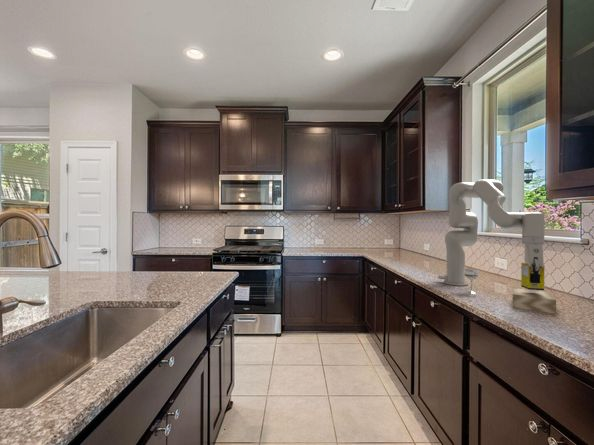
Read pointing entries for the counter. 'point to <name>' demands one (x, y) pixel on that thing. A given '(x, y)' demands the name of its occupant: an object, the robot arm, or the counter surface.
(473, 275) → the wineglass
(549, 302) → the riser block
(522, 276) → the supplement box
